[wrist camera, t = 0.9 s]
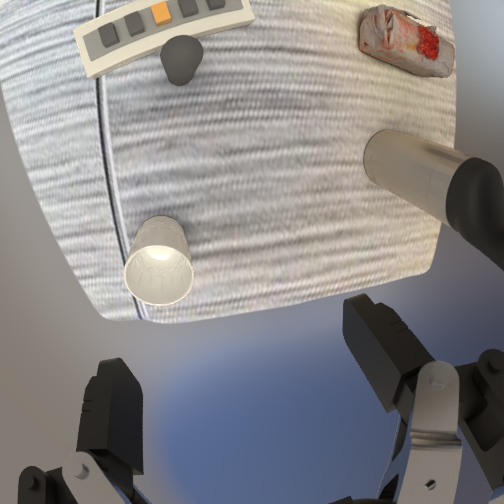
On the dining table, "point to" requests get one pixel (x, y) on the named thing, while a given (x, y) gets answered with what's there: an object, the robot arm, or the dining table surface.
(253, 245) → the dining table surface
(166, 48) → the dark grey cylinder rod
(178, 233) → the white cup
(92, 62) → the breaker panel
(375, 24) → the food item
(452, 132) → the dining table surface
